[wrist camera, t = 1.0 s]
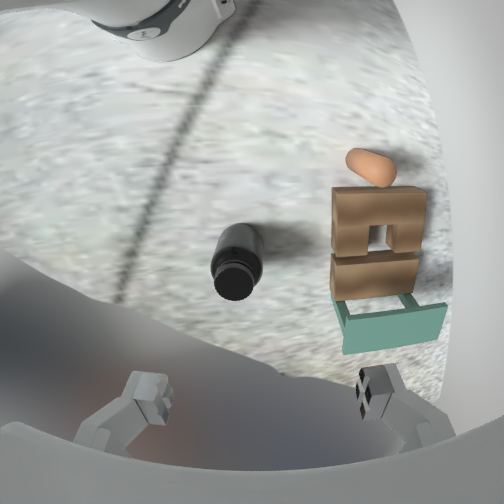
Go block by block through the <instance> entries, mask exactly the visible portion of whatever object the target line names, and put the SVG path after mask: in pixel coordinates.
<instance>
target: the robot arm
mask: <svg viewBox="0 0 504 504" xmlns="http://www.w3.org/2000/svg"><path fill="white" fill-rule="evenodd" d="M223 1H227V3H225V4H222V2H223ZM35 9H60V10H66V11H69V12H72V13H75V14H78V15H81V16H84V17H86V18H89V19H91V21H92V22H93V23H94V24H95V25H97V26H98V27H99V28H101V29H102V30H103V29H104V30H105V31H107V32H109V33H110V36H111V38H112V39H114V40H115V41H117V42H120V43H124V44H126V45H127V46H128V47H129V48H131V50H132V51H133V52H134V53H136V54H137V55H138V56H140V57H142V58H144V59H147V60H150V61H157V62H165V61H172V60H176V59H180V58H182V57H185V56H187V55H189V54H191V53H193V52H194V51H196V50H197V49H199V48H200V47H201V46H202V45H203V44H204V43H205V42H206V41H207V40H208V39H209V38H210V37H211V35H212V34H213V32H214V31H215V29H216V28H217V26H218V25H219V24H220V23H221V22H223V21H224V20H226V19H227V18H229V17H230V16H231V15H232V14H233V13H234V12H235V5H234V2H233V0H0V15H1V14H6V13H11V12H18V11H25V10H35ZM359 376H360V379H359V380H357V383H356V397H357V401H358V402H359V403H361V406H360V412H361V417H362V420H363V421H366V420H373V419H379V418H381V419H382V420H383V422H385V423H386V424H387V425H388V426H389V427H390V428H391V429H392V430H393V431H394V432H395V433H396V434H397V435H398V436H399V437H400V438H401V439H402V440H403V441H405V442H406V443H405V444H404V446H403V447H402V449H401V450H400V452H399V453H398V454H396V455H392V456H388V457H383V458H379V459H374V460H369V461H364V462H358V463H352V464H346V465H339V466H332V467H323V468H314V469H304V470H303V469H302V470H289V471H223V470H207V469H197V468H187V467H178V466H172V465H164V464H158V463H153V462H147V461H141V460H137V459H132V458H131V457H130V455H129V454H128V453H127V452H126V450H125V449H124V448H125V447H126V446H127V445H128V444H129V443H130V442H131V441H132V440H133V439H134V438H135V437H136V436H137V435H138V434H139V433H140V432H142V430H143V429H145V428H146V427H147V426H148V424H158V425H166V424H167V420H168V417H169V412H168V410H167V409H168V408H170V407H171V406H172V402H173V390H172V388H171V386H170V385H169V384H168V377H167V375H166V374H159V373H149V372H140V371H133V372H132V373H131V375H130V378H129V380H128V382H127V384H126V386H125V389H124V391H123V393H122V396H121V397H117V398H116V399H115V400H113V401H112V402H110V403H109V404H107V405H106V406H105V407H103V408H102V409H100V410H99V411H97V412H96V413H95V414H93V415H92V416H90V417H89V418H88V419H86V420H85V421H83V422H82V423H81V426H80V428H79V430H78V432H77V434H76V436H75V438H74V441H73V443H72V442H69V441H67V440H64V439H61V438H58V437H55V436H53V435H50V434H47V433H45V432H42V431H40V430H37V429H35V428H33V427H30V426H28V425H26V424H23V423H21V422H18V421H14V422H11V423H9V424H7V425H5V426H3V427H1V428H0V504H504V415H503V416H501V417H499V418H497V419H495V420H493V421H491V422H489V423H486V424H484V425H482V426H480V427H477V428H475V429H473V430H470V431H468V432H465V433H463V434H460V435H457V436H456V434H455V432H454V430H453V427H452V425H451V423H450V420H449V418H448V416H447V414H445V413H444V412H442V411H441V410H439V409H437V408H436V407H435V406H433V405H432V404H430V403H429V402H427V401H426V400H424V399H423V398H421V397H420V396H418V395H417V394H415V393H414V392H413V391H411V390H407V389H406V387H405V385H404V382H403V380H402V378H401V375H400V373H399V371H398V369H397V366H396V364H394V363H391V364H385V365H378V366H371V367H365V368H361V369H360V371H359Z"/></svg>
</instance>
